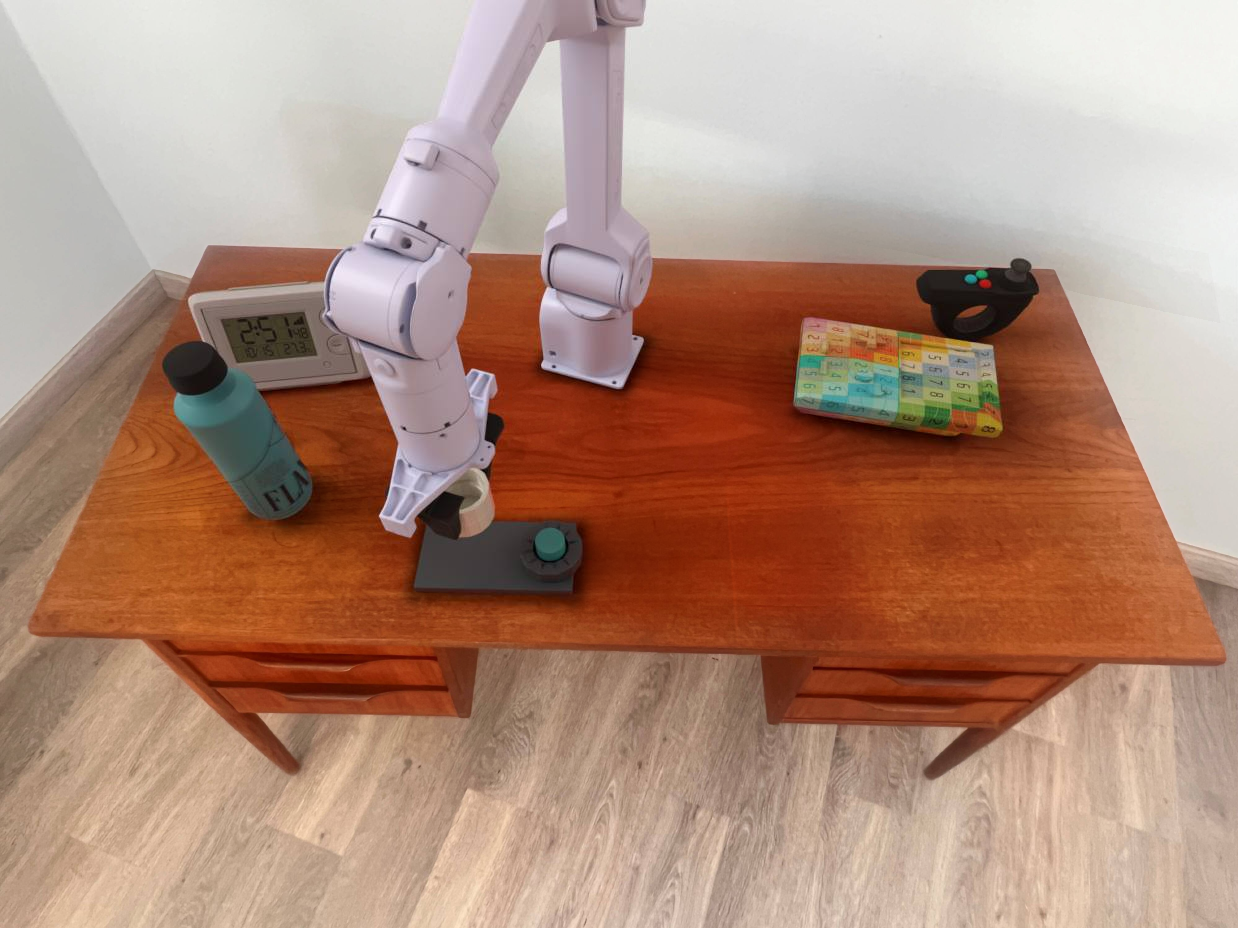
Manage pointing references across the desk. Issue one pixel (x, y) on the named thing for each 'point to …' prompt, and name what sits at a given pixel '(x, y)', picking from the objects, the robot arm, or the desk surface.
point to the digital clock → (277, 335)
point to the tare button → (550, 544)
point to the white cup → (474, 502)
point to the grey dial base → (498, 561)
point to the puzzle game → (897, 379)
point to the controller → (977, 298)
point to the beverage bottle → (237, 431)
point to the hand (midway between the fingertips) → (462, 507)
